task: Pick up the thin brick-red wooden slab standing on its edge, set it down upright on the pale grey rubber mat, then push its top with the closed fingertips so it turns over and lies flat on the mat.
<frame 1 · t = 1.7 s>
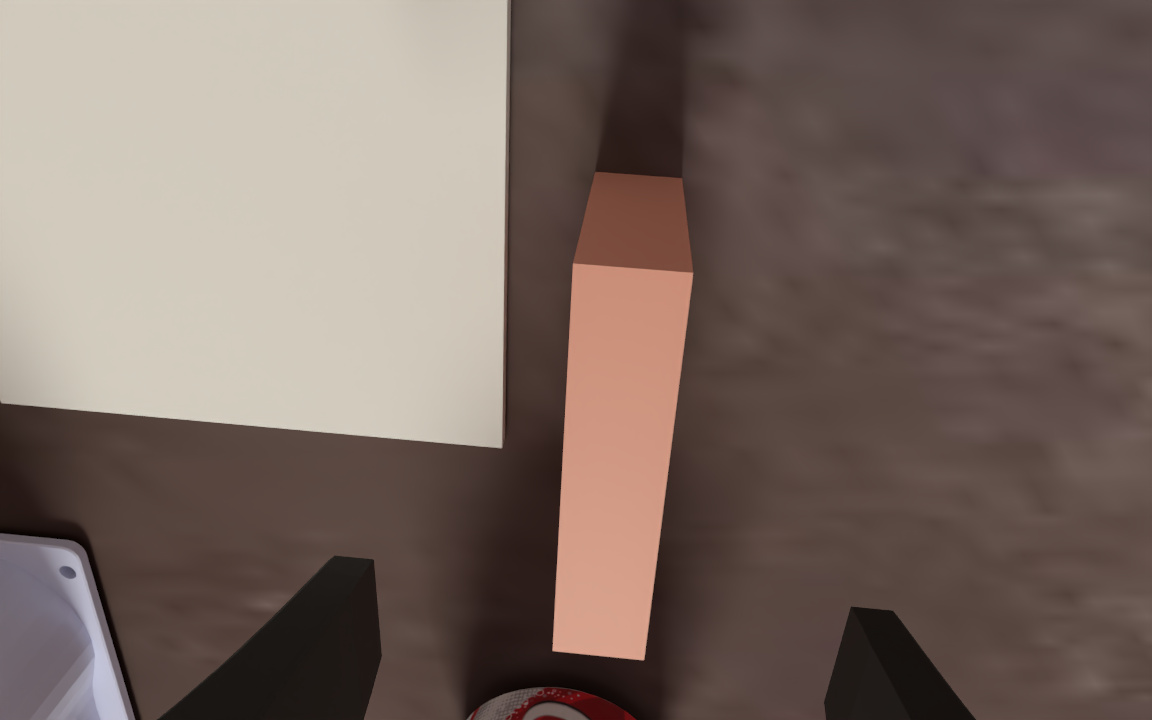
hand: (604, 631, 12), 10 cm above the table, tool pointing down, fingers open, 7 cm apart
slab: (623, 347, 21), on the table
mat: (217, 165, 20), on the table
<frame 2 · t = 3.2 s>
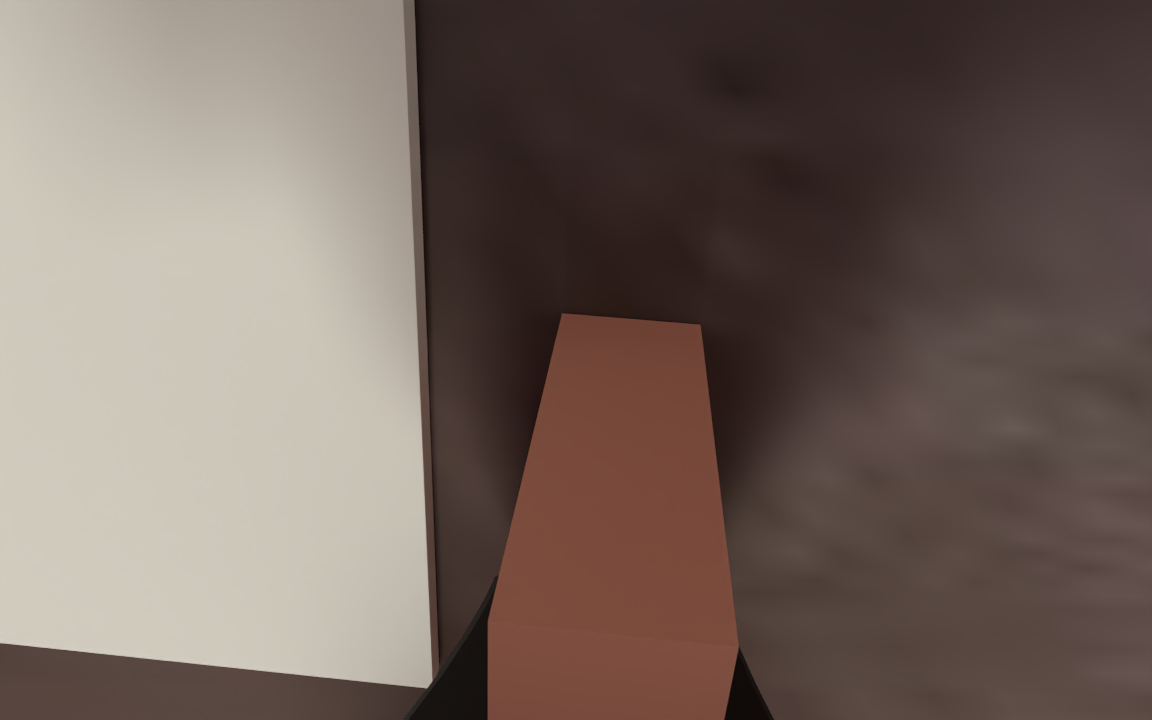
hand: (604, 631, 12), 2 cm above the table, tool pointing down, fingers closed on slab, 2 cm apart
slab: (609, 559, 14), on the table, touching gripper
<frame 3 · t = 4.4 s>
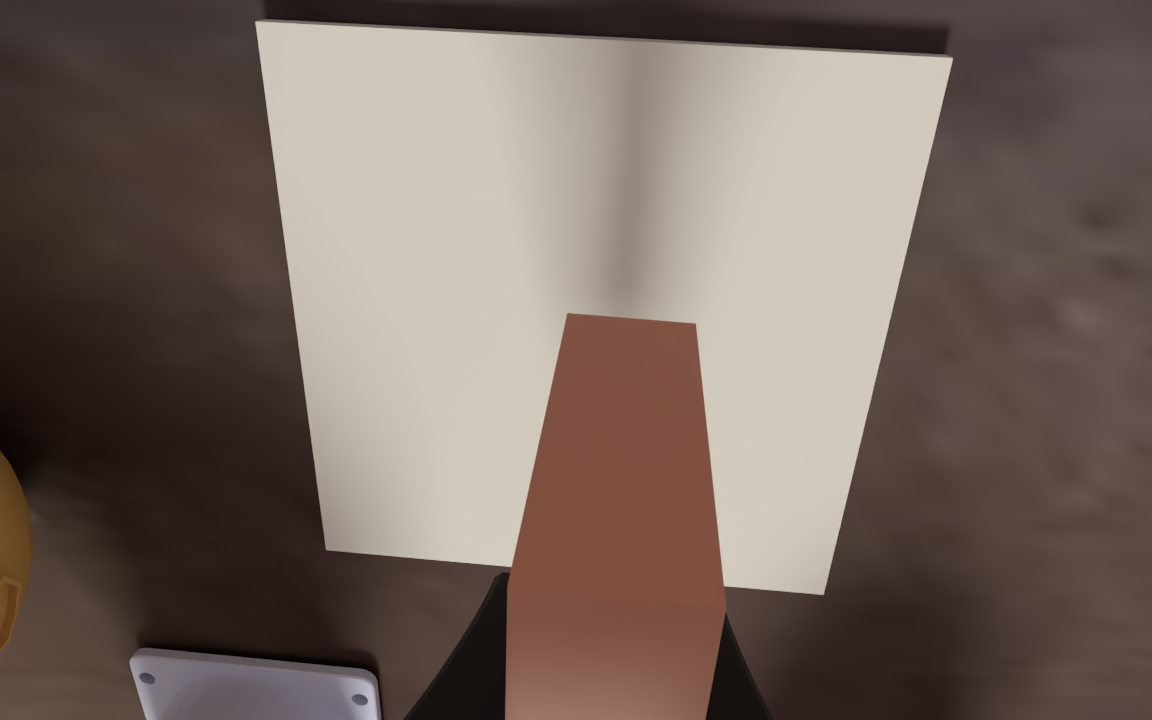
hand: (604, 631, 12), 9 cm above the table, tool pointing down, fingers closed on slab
slab: (610, 542, 15), point 6 cm above the table, touching gripper
mat: (582, 340, 20), on the table
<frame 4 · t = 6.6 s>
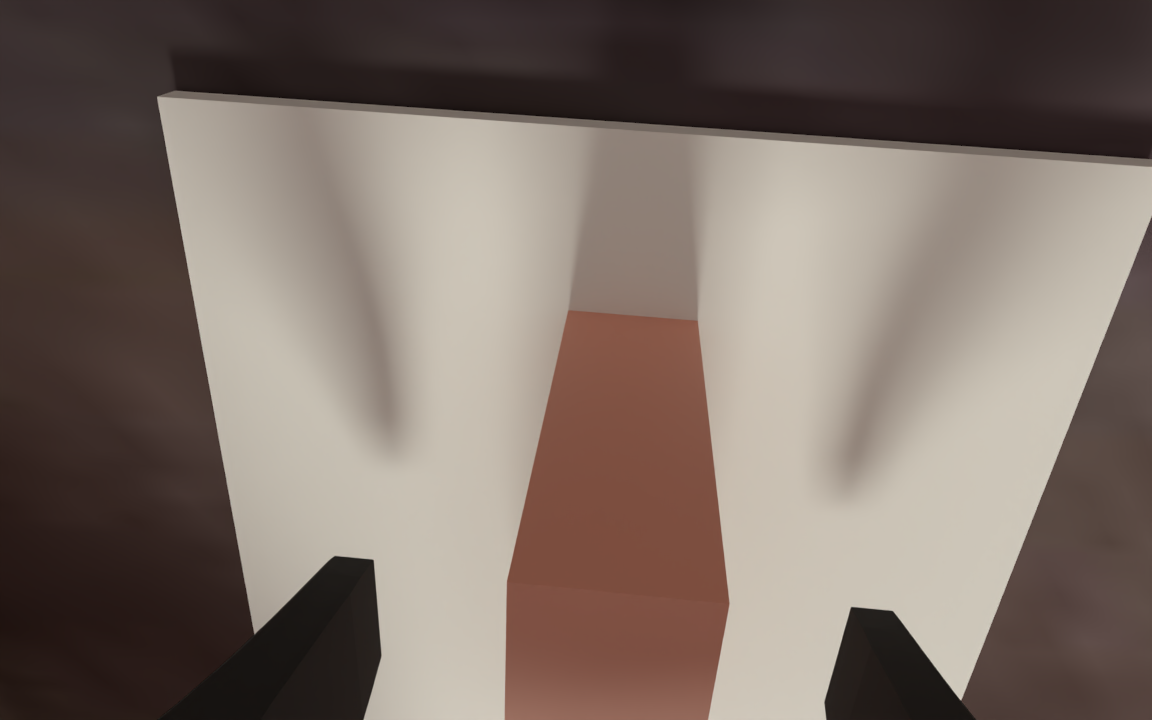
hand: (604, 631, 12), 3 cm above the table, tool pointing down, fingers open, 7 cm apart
slab: (611, 542, 15), resting on mat
mat: (612, 512, 15), on the table
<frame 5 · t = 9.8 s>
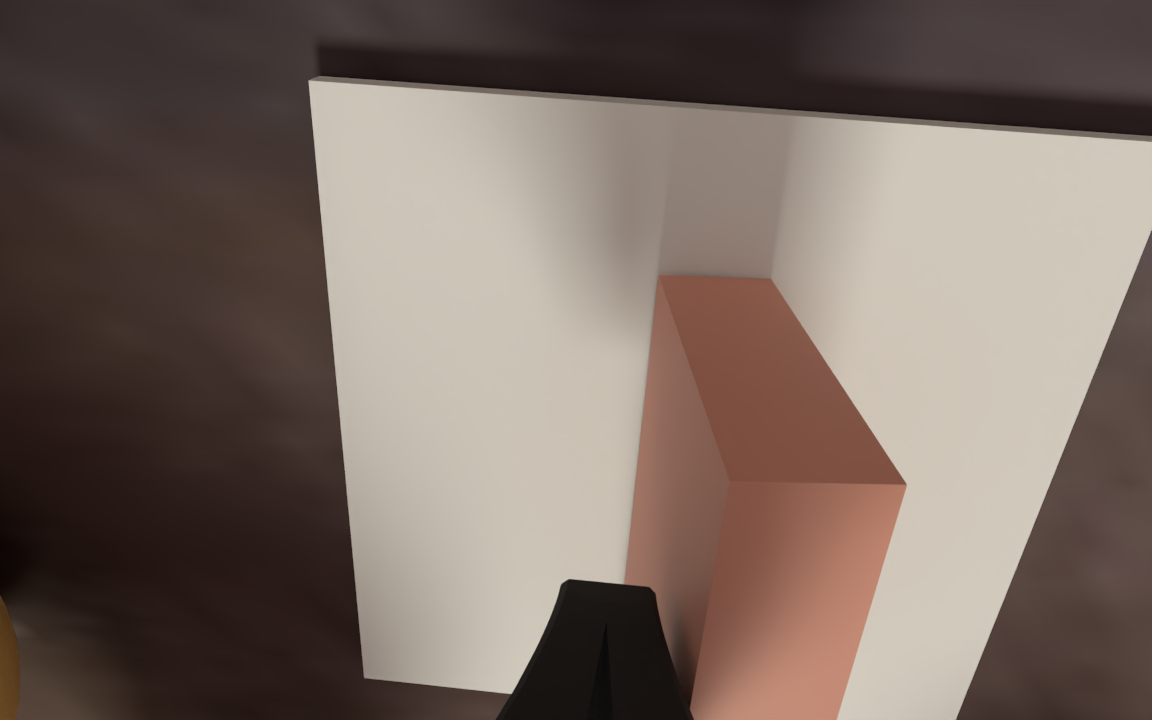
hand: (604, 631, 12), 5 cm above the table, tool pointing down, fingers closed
slab: (684, 485, 16), point 1 cm above the table, tilted 7°, touching gripper, mat
mat: (683, 455, 17), on the table
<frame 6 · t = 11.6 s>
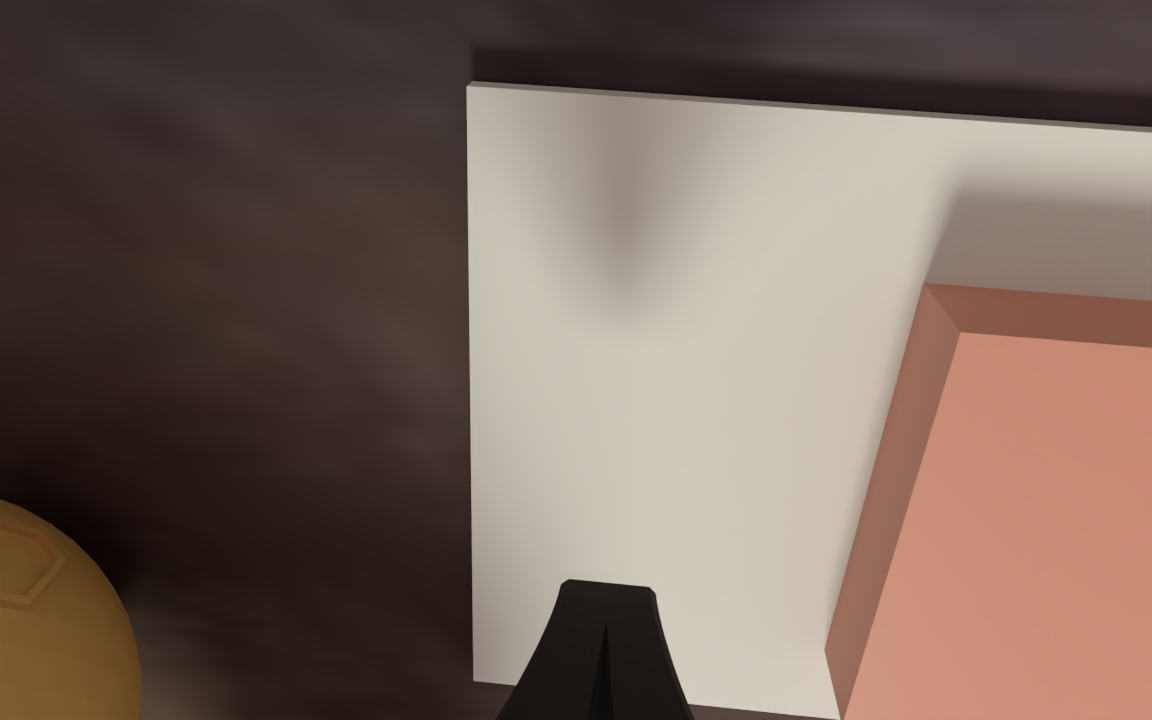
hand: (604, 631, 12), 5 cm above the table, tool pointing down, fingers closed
slab: (879, 521, 16), point 1 cm above the table, tilted 90°, touching mat
mat: (812, 458, 17), on the table
stress ball: (39, 554, 20), on the table
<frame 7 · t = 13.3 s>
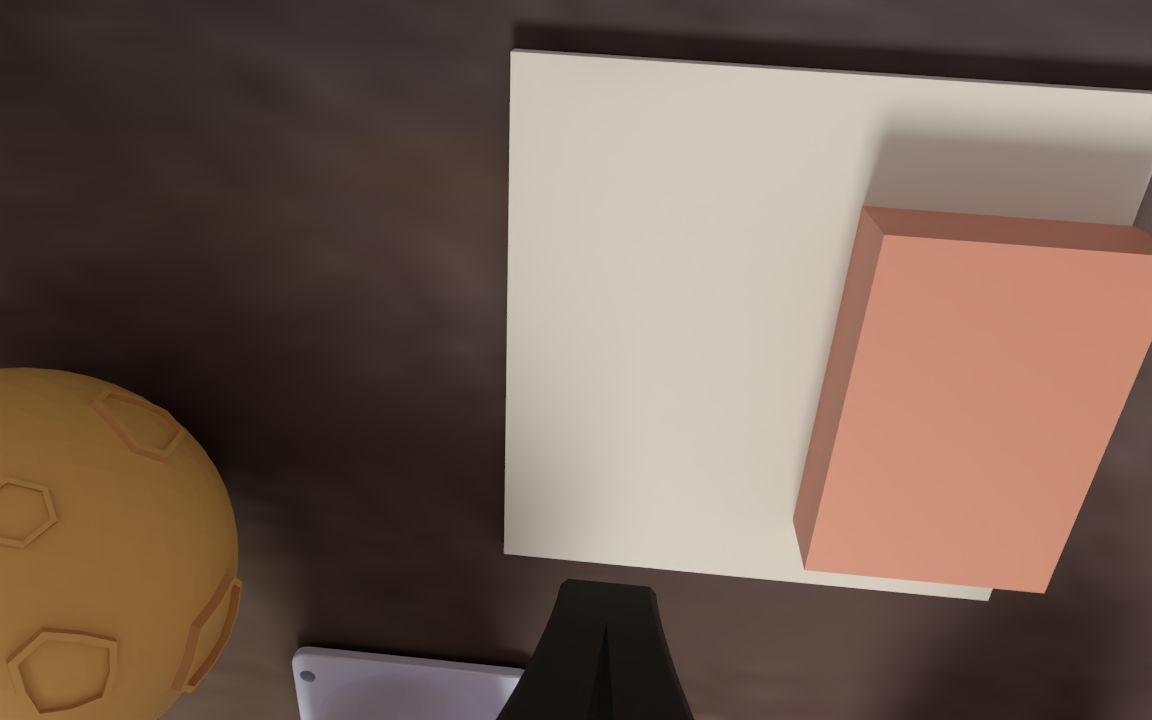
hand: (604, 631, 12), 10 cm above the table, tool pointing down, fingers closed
slab: (831, 399, 20), point 1 cm above the table, tilted 90°, touching mat
mat: (780, 356, 21), on the table
stress ball: (143, 449, 24), on the table
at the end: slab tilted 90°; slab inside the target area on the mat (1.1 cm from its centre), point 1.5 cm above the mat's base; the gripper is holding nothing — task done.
